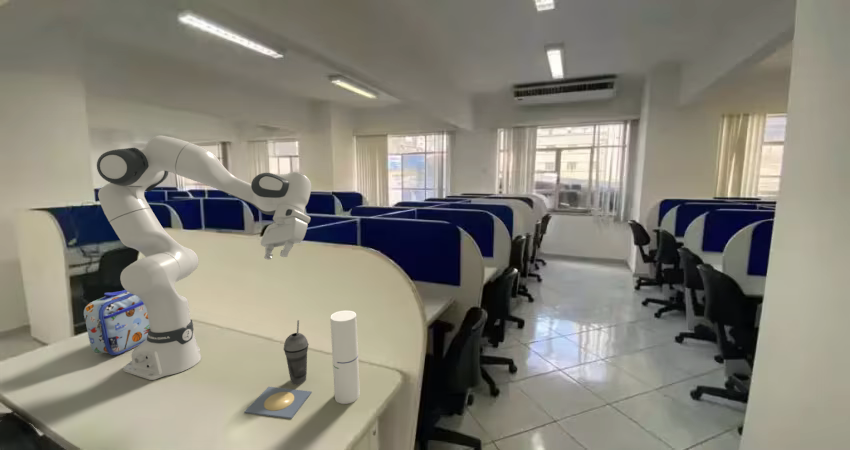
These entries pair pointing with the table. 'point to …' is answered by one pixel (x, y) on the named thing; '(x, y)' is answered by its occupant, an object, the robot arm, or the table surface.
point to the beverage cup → (296, 356)
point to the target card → (278, 402)
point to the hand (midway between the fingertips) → (275, 257)
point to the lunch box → (116, 322)
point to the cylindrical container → (345, 356)
